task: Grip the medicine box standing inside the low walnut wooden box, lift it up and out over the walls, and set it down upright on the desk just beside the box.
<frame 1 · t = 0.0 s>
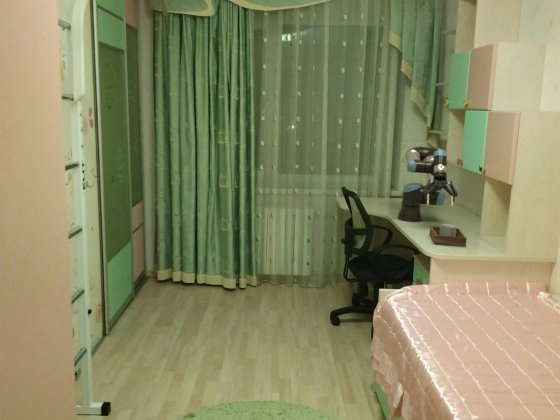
hand: (439, 205, 310), 15 cm above the table, tool tilted 35°, fingers open, 13 cm apart
medicine box: (446, 241, 292), resting in walnut box
walnut box: (446, 240, 292), on the table
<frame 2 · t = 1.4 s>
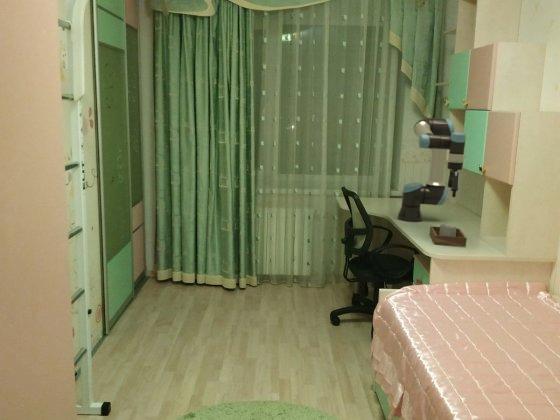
hand: (450, 201, 289), 22 cm above the table, tool pointing down, fingers open, 13 cm apart
nothing on the table moved.
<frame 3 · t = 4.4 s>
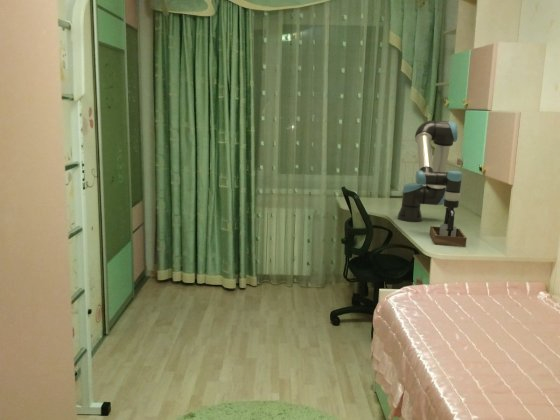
hand: (446, 240, 292), 0 cm above the table, tool pointing down, fingers closed on medicine box, 8 cm apart
medicine box: (446, 241, 292), resting in walnut box, touching gripper
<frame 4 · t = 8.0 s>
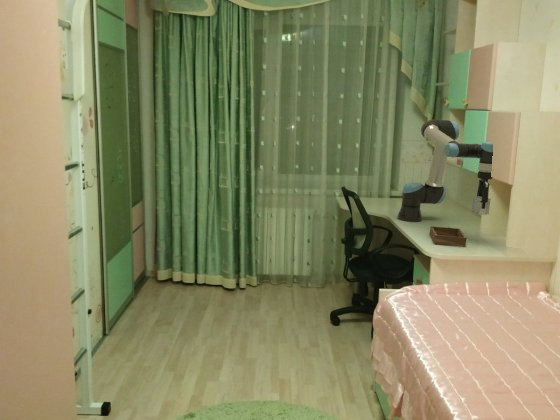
hand: (480, 212, 289), 17 cm above the table, tool pointing down, fingers closed on medicine box, 8 cm apart
medicine box: (480, 213, 289), point 16 cm above the table, touching gripper
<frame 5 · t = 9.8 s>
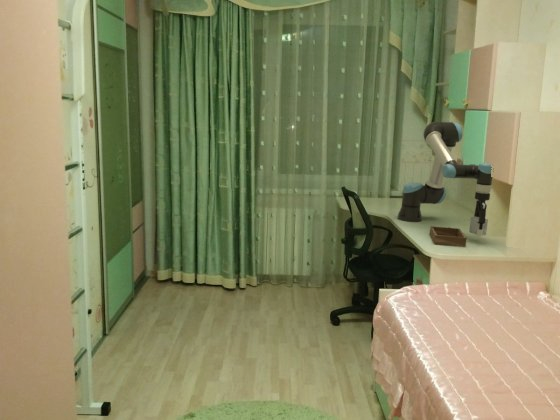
hand: (477, 233, 291), 5 cm above the table, tool pointing down, fingers closed on medicine box, 8 cm apart
medicine box: (477, 234, 291), point 5 cm above the table, touching gripper
when the fingers open (2 cm above the table, at t = 11.5 s): medicine box drops 1 cm, on the table.
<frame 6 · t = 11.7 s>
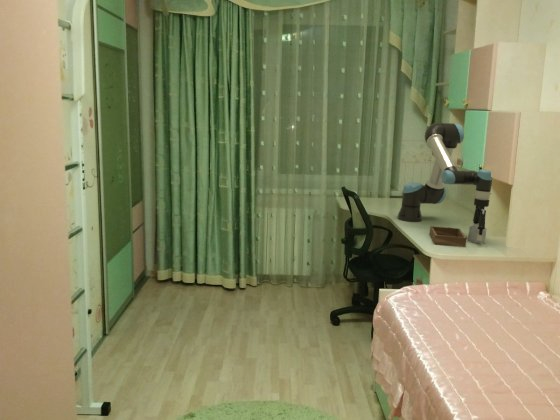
hand: (476, 237, 291), 3 cm above the table, tool pointing down, fingers open, 11 cm apart
medicine box: (476, 242, 292), on the table
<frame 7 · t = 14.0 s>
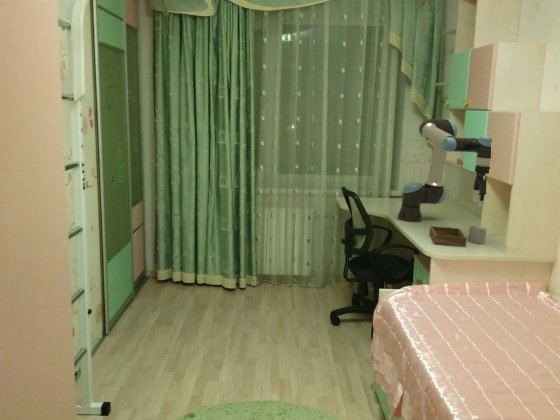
hand: (477, 204, 290), 21 cm above the table, tool pointing down, fingers open, 13 cm apart
nothing on the table moved.
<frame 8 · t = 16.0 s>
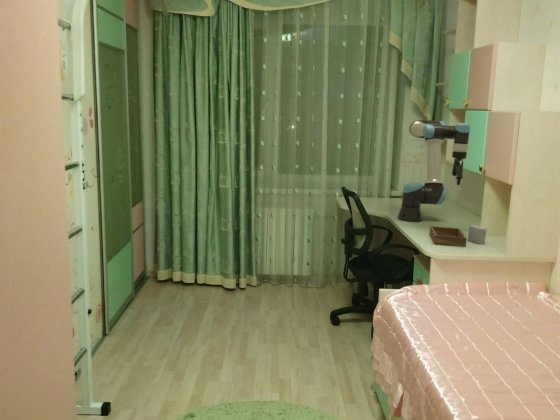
hand: (455, 188, 302), 27 cm above the table, tool pointing down, fingers open, 13 cm apart
nothing on the table moved.
at the end: medicine box inside the target area (0.1 cm from its centre), on the table; medicine box tilted 0°; the gripper is holding nothing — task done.
